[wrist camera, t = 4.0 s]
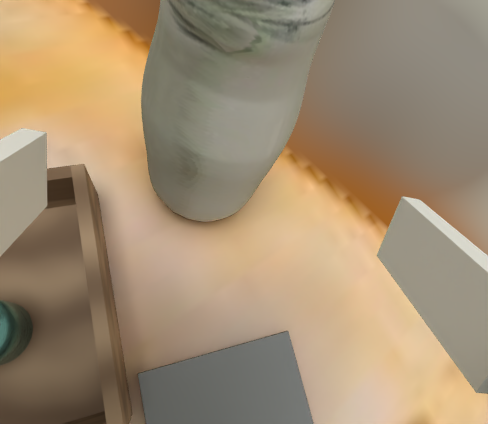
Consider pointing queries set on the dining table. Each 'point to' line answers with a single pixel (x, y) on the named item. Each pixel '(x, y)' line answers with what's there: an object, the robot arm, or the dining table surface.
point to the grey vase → (224, 96)
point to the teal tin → (13, 331)
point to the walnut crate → (64, 314)
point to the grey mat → (229, 387)
